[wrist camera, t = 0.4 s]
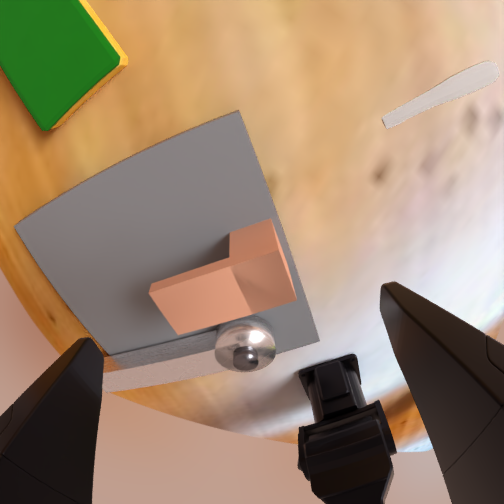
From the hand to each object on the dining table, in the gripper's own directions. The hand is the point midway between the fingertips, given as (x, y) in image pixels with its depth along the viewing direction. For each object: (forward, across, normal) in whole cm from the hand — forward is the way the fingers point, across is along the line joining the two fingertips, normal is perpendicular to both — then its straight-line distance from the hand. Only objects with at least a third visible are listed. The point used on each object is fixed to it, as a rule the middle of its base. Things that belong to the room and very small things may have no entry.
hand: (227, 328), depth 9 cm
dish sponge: (+14, +10, -15) cm, 23 cm away
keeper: (+13, +2, +6) cm, 14 cm away
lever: (+13, +9, +14) cm, 21 cm away
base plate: (+14, +7, +7) cm, 17 cm away
